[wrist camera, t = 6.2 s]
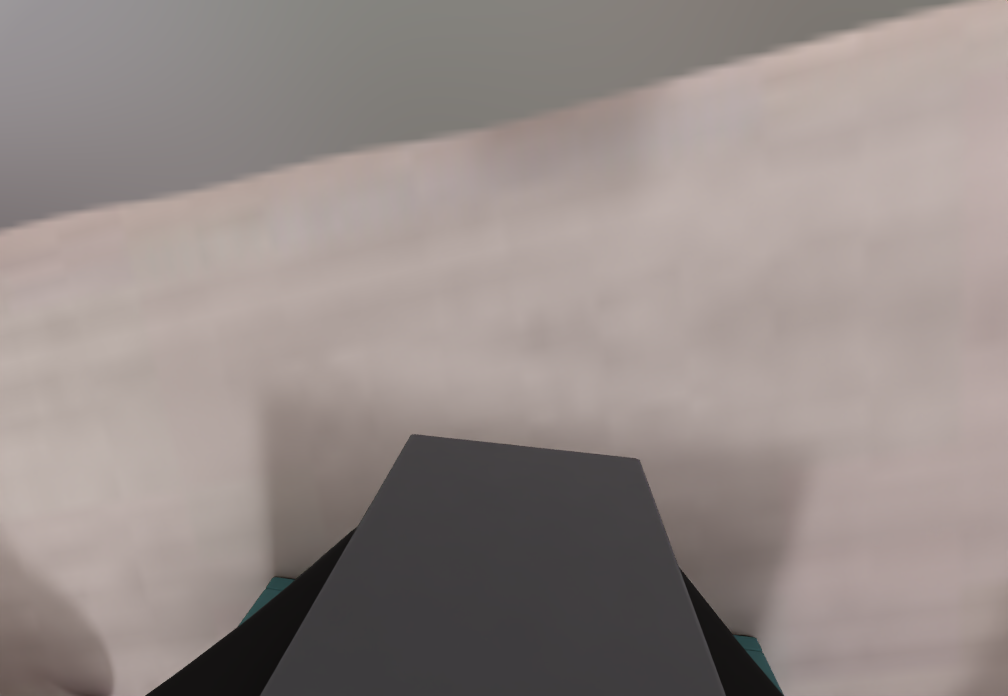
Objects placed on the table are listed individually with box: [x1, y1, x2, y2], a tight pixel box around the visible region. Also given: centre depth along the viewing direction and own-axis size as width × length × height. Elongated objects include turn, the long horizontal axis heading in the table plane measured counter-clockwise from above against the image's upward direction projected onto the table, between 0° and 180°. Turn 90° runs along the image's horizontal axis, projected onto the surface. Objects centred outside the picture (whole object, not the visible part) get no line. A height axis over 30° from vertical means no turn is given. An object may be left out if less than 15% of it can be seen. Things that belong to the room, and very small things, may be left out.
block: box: [260, 434, 726, 696], centre depth 7 cm, size 4×4×5 cm
